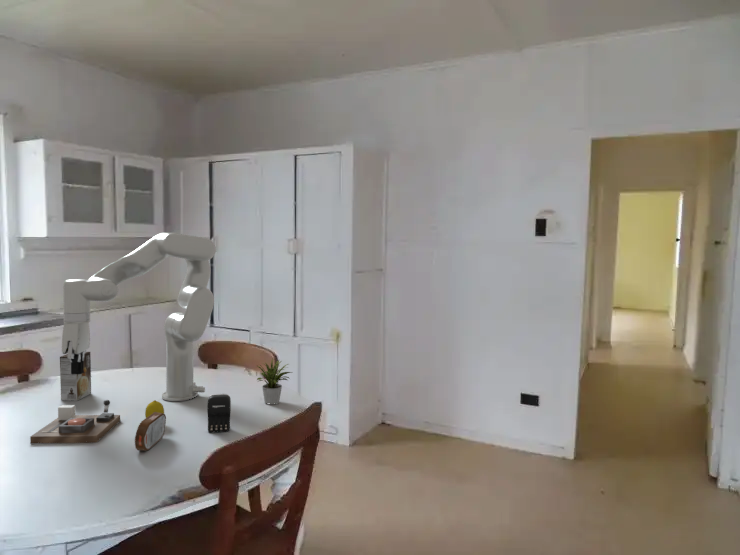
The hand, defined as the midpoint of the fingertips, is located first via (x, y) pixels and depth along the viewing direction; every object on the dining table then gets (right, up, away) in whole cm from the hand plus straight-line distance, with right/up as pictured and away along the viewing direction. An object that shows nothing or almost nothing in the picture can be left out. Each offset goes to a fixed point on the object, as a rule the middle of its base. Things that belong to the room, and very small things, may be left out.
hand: (77, 373), depth 170 cm
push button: (+8, -13, -14) cm, 21 cm away
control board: (+6, -16, -11) cm, 20 cm away
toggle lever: (+12, -12, -6) cm, 18 cm away
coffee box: (-13, -13, +22) cm, 29 cm away
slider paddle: (+1, -13, -7) cm, 15 cm away
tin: (+32, -17, -20) cm, 42 cm away
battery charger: (+48, -17, -8) cm, 52 cm away
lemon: (+27, -16, -4) cm, 31 cm away
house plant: (+59, -15, +20) cm, 64 cm away
